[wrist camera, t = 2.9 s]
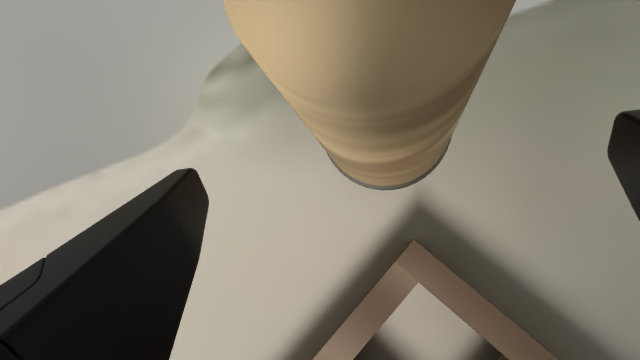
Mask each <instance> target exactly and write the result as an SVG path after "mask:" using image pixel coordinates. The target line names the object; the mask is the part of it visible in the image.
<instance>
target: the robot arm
mask: <svg viewBox="0 0 640 360" xmlns="http://www.w3.org/2000/svg"><path fill="white" fill-rule="evenodd" d="M608 158H609V160H610V163H611V165H612V167H613V169H614V171H615V173H616V175H617V177H618V179H619V181H620V183H621V185H622V187H623V189H624V191H625V193H626V195H627V197H628V199H629V201H630V203H631V205H632V207H633V209H634V211H635V213H636V215H637V217H638V219H639V220H640V109H639V110H632V111H624V112H621V113H619V114H618V115H617V116H616V118H615V120H614V124H613V128H612V132H611V137H610V141H609V145H608ZM208 206H209V199H208V195H207V193H206V190H205V188H204V186H203V184H202V182H201V179H200V177H199V175H198V173H197V171H196V170H195V169H193V168H187V169H180V170H176V171H174V172H173V173H171V174H170V175H168V176H167V177H165V178H164V179H162V180H161V181H159V182H158V183H156V184H155V185H153V186H151V187H150V188H148V189H147V190H145V191H144V192H142V193H141V194H139V195H138V196H136V197H135V198H133V199H132V200H130V201H129V202H127V203H126V204H124V205H123V206H121V207H120V208H118V209H117V210H115V211H113V212H112V213H110V214H109V215H107V216H106V217H104V218H103V219H101V220H100V221H98V222H97V223H95V224H94V225H92V226H91V227H89V228H88V229H86V230H85V231H83V232H82V233H80V234H78V235H77V236H75V237H74V238H72V239H71V240H69V241H68V242H66V243H65V244H63V245H62V246H60V247H59V248H57V249H56V250H54V251H53V252H51V253H50V254H48V255H47V256H46V258H42V259H40V260H39V261H37V262H36V263H34V264H33V265H31V266H30V267H28V268H27V269H25V270H24V271H22V272H20V273H19V274H17V275H16V276H14V277H13V278H11V279H9V280H8V281H6V282H5V283H3V284H2V285H0V360H169V358H170V355H171V351H172V348H173V345H174V341H175V338H176V335H177V331H178V328H179V325H180V321H181V318H182V315H183V311H184V308H185V305H186V301H187V298H188V295H189V291H190V288H191V285H192V281H193V278H194V274H195V271H196V268H197V264H198V260H199V256H200V252H201V246H202V241H203V235H204V229H205V224H206V218H207V212H208Z"/></svg>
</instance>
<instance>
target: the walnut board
mask: <svg viewBox="0 0 640 360" xmlns="http://www.w3.org/2000/svg"><path fill="white" fill-rule="evenodd" d="M418 282H419V283H420V284H421V285H423V286H424V287H425V288H426V289H427V290H428V291H430V292H431V293H432V294H433V295H434V296H435V297H437V298H438V299H439V300H440V301H441V302H442V303H444V304H445V305H446V306H447V307H448V308H449V309H451V310H452V311H453V312H454V313H455V314H456V315H458V316H459V317H460V318H461V319H462V320H463V321H465V322H466V323H467V324H468V325H469V326H470V327H472V328H473V329H474V330H475V331H476V332H477V333H478V334H480V335H481V336H482V337H483V338H484V339H485V340H487V341H488V342H489V343H490V344H491V345H492V346H494V347H495V348H496V349H497V350H498V351H499V352H501V353H502V354H501V355H500V357H499V358H498V359H497V360H558V359H557V358H556V357H555V356H554V355H552V354H551V353H550V352H549V351H548V350H546V349H545V348H544V347H543V346H542V345H540V344H539V343H538V342H537V341H535V340H534V339H533V338H532V337H531V336H529V335H528V334H527V333H526V332H525V331H523V330H522V329H521V328H520V327H519V326H517V325H516V324H515V323H514V322H513V321H511V320H510V319H509V318H508V317H507V316H505V315H504V314H503V313H502V312H501V311H499V310H498V309H497V308H496V307H495V306H493V305H492V304H491V303H490V302H489V301H487V300H486V299H485V298H484V297H482V296H481V295H480V294H479V293H478V292H476V291H475V290H474V289H473V288H472V287H470V286H469V285H468V284H467V283H466V282H464V281H463V280H462V279H461V278H460V277H458V276H457V275H456V274H455V273H454V272H452V271H451V270H450V269H449V268H448V267H446V266H445V265H444V264H443V263H442V262H440V261H439V260H438V259H437V258H436V257H434V256H433V255H432V254H431V253H430V252H428V251H427V250H426V249H425V248H423V247H422V246H421V245H420V244H419V243H417V242H416V241H415V240H412V241H411V243H410V244H409V245H408V246H407V247H406V249H405V250H404V251H403V252H402V253H401V254H400V256H399V257H398V258H397V259H396V260H395V262H394V263H393V264H392V265H391V266H390V268H389V269H388V270H387V271H386V272H385V273H384V275H383V276H382V277H381V278H380V279H379V281H378V282H377V283H376V284H375V285H374V286H373V288H372V289H371V290H370V291H369V292H368V294H367V295H366V296H365V297H364V298H363V299H362V301H361V302H360V303H359V304H358V305H357V307H356V308H355V309H354V310H353V311H352V312H351V314H350V315H349V316H348V317H347V318H346V320H345V321H344V322H343V323H342V324H341V325H340V327H339V328H338V329H337V330H336V331H335V333H334V334H333V335H332V336H331V337H330V339H329V340H328V341H327V342H326V343H325V344H324V346H323V347H322V348H321V349H320V350H319V352H318V353H317V354H316V355H315V356H314V357H313V359H312V360H355V359H354V358H355V357H356V355H357V354H358V353H359V352H360V351H361V349H362V348H363V347H364V346H365V345H366V344H367V342H368V341H369V340H370V339H371V338H372V336H373V335H374V334H375V333H376V332H377V331H378V329H379V328H380V327H381V326H382V325H383V323H384V322H385V321H386V320H387V319H388V318H389V316H390V315H391V314H392V313H393V312H394V310H395V309H396V308H397V307H398V306H399V305H400V303H401V302H402V301H403V300H404V299H405V297H406V296H407V295H408V294H409V293H410V292H411V290H412V289H413V288H414V287H415V286H416V284H417V283H418Z"/></svg>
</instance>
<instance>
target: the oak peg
mask: <svg viewBox="0 0 640 360" xmlns="http://www.w3.org/2000/svg"><path fill="white" fill-rule="evenodd" d="M515 1H516V0H223V3H224V7H225V11H226V13H227V16H228V19H229V21H230V23H231V26H232V28H233V30H234V31H235V33H236V35H237V37H238V38H239V40H240V42H241V43H242V44H243V46H244V47H245V48H246V49H247V51H248V52H249V53H250V54H251V56H252V57H253V58H254V60H255V61H256V62H257V63H258V65H259V66H260V67H261V69H262V70H263V71H264V72H265V74H266V75H267V76H268V78H269V79H270V80H271V81H272V83H273V84H274V85H275V86H276V88H277V89H278V90H279V92H280V93H281V94H282V95H283V97H284V98H285V99H286V101H287V102H288V103H289V104H290V106H291V107H292V108H293V110H294V111H295V112H296V113H297V115H298V116H299V117H300V118H301V120H302V121H303V122H304V124H305V125H306V126H307V127H308V129H309V130H310V131H311V133H312V134H313V135H314V136H315V138H316V139H317V140H318V141H319V143H320V144H321V145H322V147H323V148H324V149H325V150H326V152H327V154H328V156H329V158H330V159H331V161H332V162H333V164H334V165H335V166H336V167H337V169H338V170H339V171H340V172H341V173H342V174H343V175H344V176H346V177H347V178H349V179H350V180H351V181H353V182H355V183H357V184H359V185H362V186H364V187H367V188H371V189H377V190H394V189H400V188H404V187H407V186H410V185H412V184H414V183H417V182H418V181H420V180H422V179H423V178H425V177H426V176H427V175H428V174H430V173H431V172H432V171H433V170H434V169H435V168H436V167H437V165H438V164H439V163H440V161H441V160H442V158H443V156H444V155H445V153H446V151H447V149H448V146H449V143H450V140H451V136H452V134H453V132H454V129H455V127H456V125H457V123H458V121H459V119H460V117H461V115H462V113H463V111H464V108H465V106H466V104H467V102H468V100H469V98H470V96H471V94H472V92H473V90H474V87H475V85H476V83H477V81H478V79H479V77H480V75H481V73H482V71H483V69H484V66H485V64H486V62H487V60H488V58H489V56H490V54H491V52H492V50H493V48H494V45H495V43H496V41H497V39H498V37H499V35H500V33H501V31H502V29H503V27H504V24H505V22H506V20H507V18H508V16H509V14H510V12H511V10H512V8H513V6H514V3H515Z"/></svg>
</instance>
